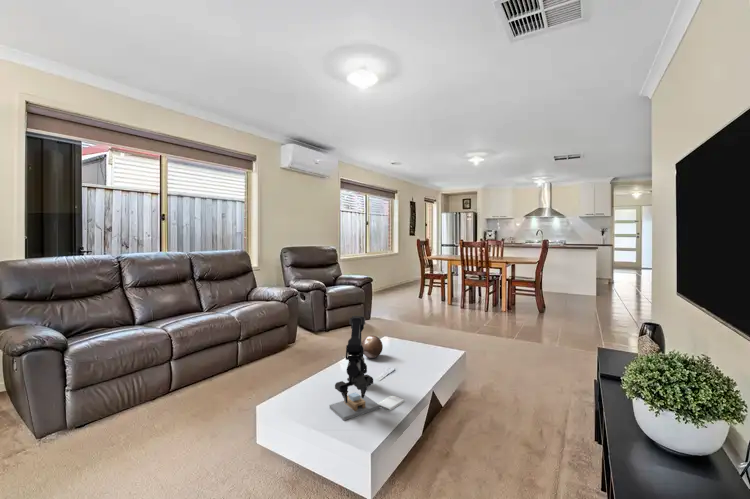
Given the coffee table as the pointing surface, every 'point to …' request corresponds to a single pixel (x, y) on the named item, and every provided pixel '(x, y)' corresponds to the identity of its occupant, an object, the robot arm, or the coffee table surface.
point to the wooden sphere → (372, 346)
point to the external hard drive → (390, 402)
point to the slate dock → (348, 413)
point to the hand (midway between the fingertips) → (354, 400)
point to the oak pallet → (355, 403)
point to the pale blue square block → (354, 396)
